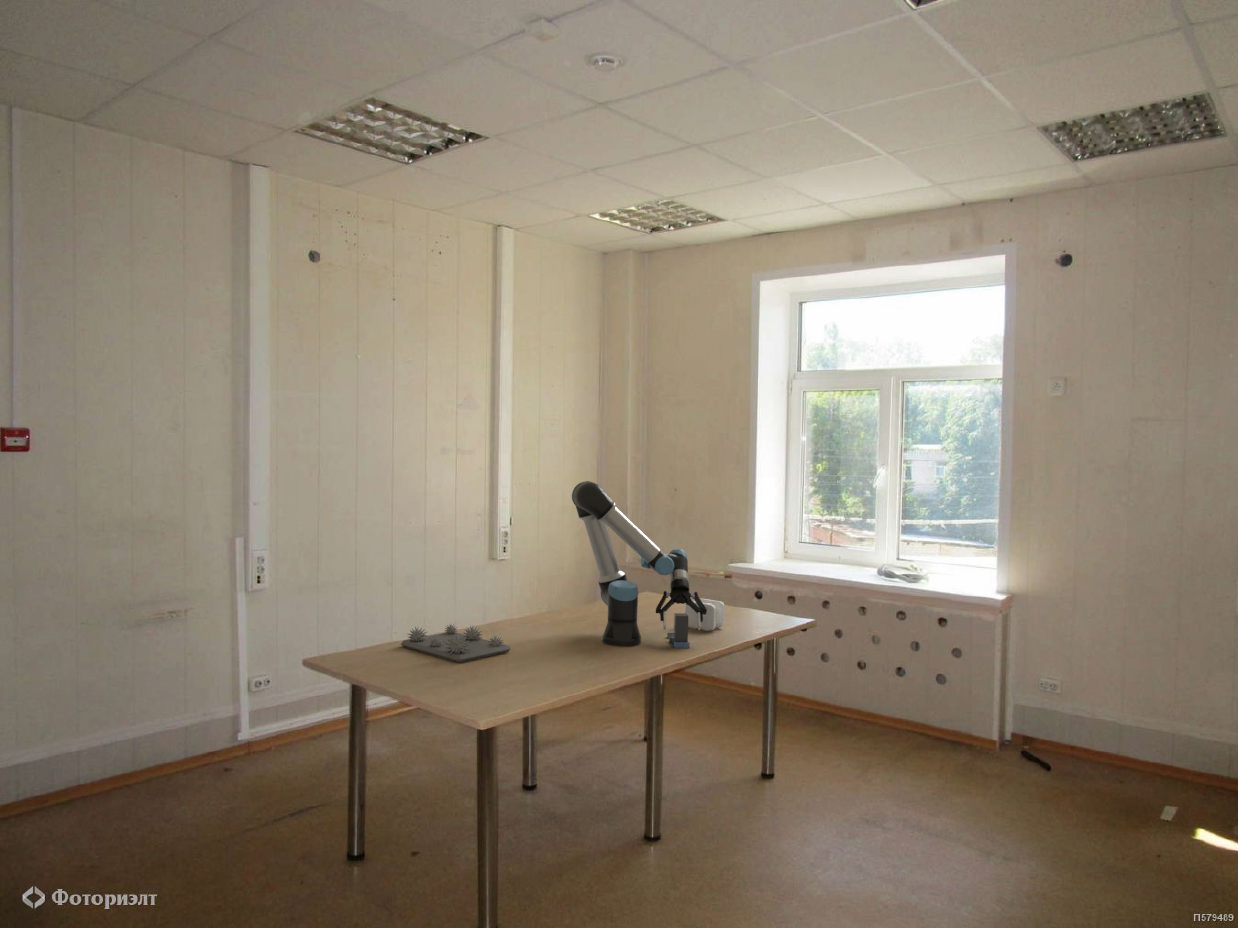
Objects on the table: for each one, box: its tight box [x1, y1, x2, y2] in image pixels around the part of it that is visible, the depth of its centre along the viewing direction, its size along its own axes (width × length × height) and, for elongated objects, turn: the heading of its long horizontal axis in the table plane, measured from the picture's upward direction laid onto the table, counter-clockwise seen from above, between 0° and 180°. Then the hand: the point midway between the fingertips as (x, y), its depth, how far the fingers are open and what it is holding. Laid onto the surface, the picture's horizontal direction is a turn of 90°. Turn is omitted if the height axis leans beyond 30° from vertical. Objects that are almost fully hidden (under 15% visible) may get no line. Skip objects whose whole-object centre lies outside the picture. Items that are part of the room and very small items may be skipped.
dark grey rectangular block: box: [673, 613, 689, 642], centre depth 325 cm, size 5×5×12 cm
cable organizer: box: [684, 598, 726, 632], centre depth 358 cm, size 15×11×12 cm
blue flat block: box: [671, 637, 691, 649], centre depth 325 cm, size 6×9×2 cm
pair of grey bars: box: [666, 631, 674, 643], centre depth 334 cm, size 6×9×2 cm
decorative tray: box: [400, 623, 512, 664], centre depth 306 cm, size 35×26×10 cm
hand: (682, 628), depth 323 cm, fingers open, 13 cm apart
